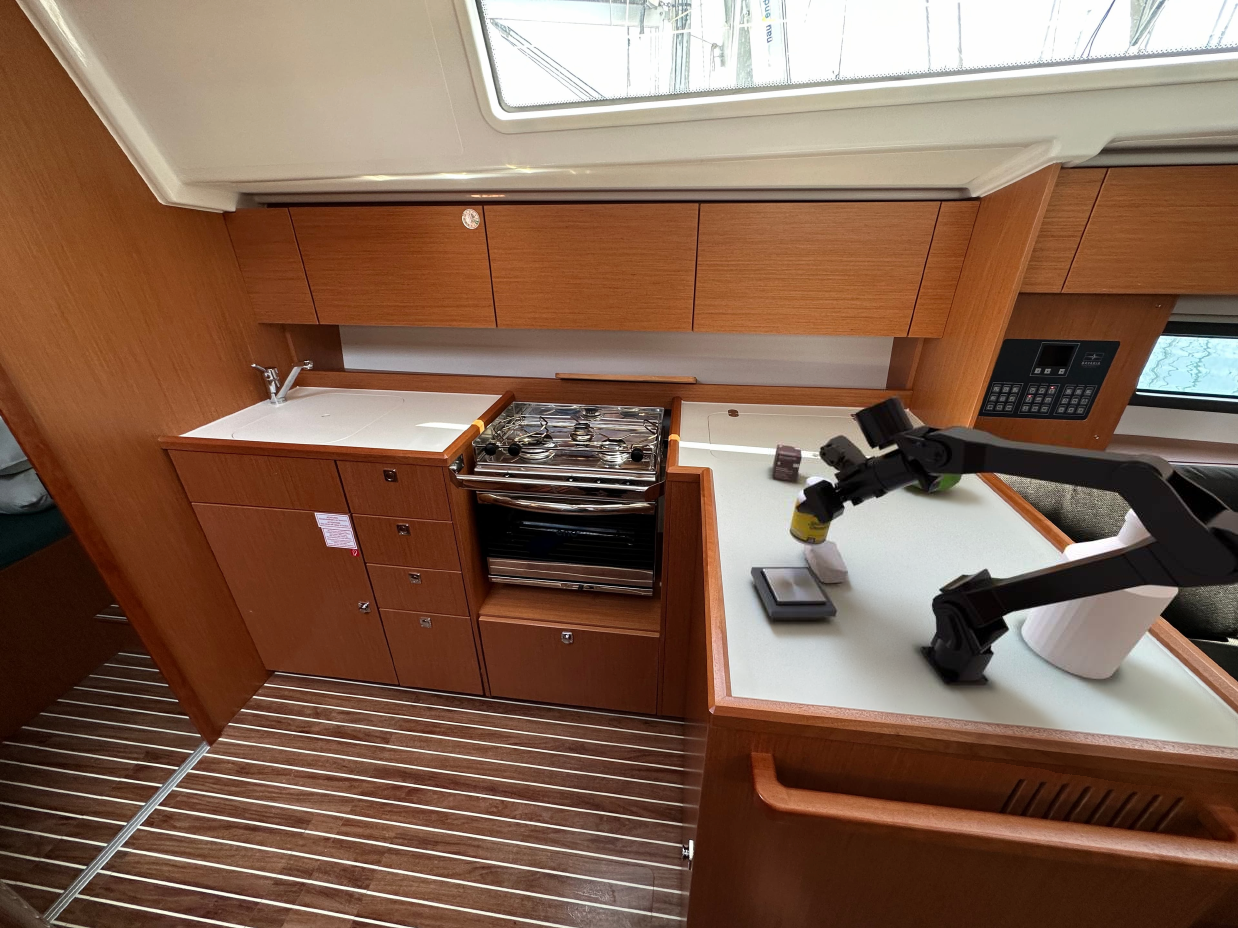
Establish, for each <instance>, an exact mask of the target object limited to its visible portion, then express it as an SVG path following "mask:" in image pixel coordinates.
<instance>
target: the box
mask: <svg viewBox="0 0 1238 928" xmlns="http://www.w3.org/2000/svg"><path fill="white" fill-rule="evenodd" d="M802 458H803V456H802V448H801V447H796V446H791V445H786V444H785V445H784V444H776V449H775V453H774V458H773V463H772V468H771V469H772V470H771V475H772V476H771V477H772V479H775V480H781V481H788V482H793V483H796V482H797V479H798V475H799V471H800V467H801V464H802V463H801V462H802Z"/></svg>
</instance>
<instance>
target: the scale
mask: <svg viewBox="0 0 1238 928" xmlns="http://www.w3.org/2000/svg"><path fill="white" fill-rule="evenodd" d="M763 569H807V570H808V572H809V573H810V575H811V577H812V578H813V580H814V582H815V583H816V585H817V587H818V588H819V590H820V591H821V593H822V595H823V596H824V598H825V600H826V602H825V605H818V606H776V603H775V601H774V599H773V597H772V595H771V593H770V591H769V589H768V587H767V585H766V582H765V580H764V578H763V576H762V571H763ZM750 575H751V577H752V579H753V582H754V584H755V586H756V588H757V591H758V593H759V595H760V598H761V600H762V602H763V604H764V606H765V608H766V611H767V613H768V616H769V617H770V619H771V621H824V620H826V618H835V617H836V616H837V613H838V610H837V608H836V606H835V604H834V603H833V601H832V600H831V598H830V596H829V595H828V594H827V591H826V590H825V588H824V587H823V586H822V584H821V582H820V580H819V578H818V576H817V575H816V574H815V572H814V571H813V569H812V568H811V566H752V567H751V569H750Z"/></svg>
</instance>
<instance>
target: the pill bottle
mask: <svg viewBox="0 0 1238 928" xmlns="http://www.w3.org/2000/svg"><path fill="white" fill-rule="evenodd" d="M822 480H826V481H829V482H831V483H832V485H833V487H834V488H835V483H834V482H833V481H832V480H831V479H828V478H826V477H823V476H822V477H821V476H811V477H808V478H807V479H806V481H805V486H804V487H805V488H807V487H809V486H811V485H813V484H815V483H817V482H819V481H822ZM805 488H803V489H802V490H800V491H799V492H798V494H797V497H796V501H795V505H794V509H793V513H792V518H791V521H790V527H789V535H790V537H791V538H792V539H793V540H795V541H796V542H798V543H800V544H802V545H804V546H805V545H810V546H817V545H821V544H823V543H824V542H825V540H827V537H828V533H829V530H830V527H831V523H832V521H830V522H827V523H824V524H821V523H820V522H818V520H817V518H816V516H815V515H810V514H804V513H799V512H798V511H797V510H796V506H797V505H799V504H800V503H801V502H803V501H804V500H805V499H806V497H805V496H804V494H803V490H804V489H805Z"/></svg>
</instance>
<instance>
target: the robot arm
mask: <svg viewBox="0 0 1238 928" xmlns="http://www.w3.org/2000/svg"><path fill="white" fill-rule="evenodd" d="M853 418H854V420H855V422H856V423H857V425H858V427H859V429H860V431H861V433H862V435H863V437H864V439H865V441H866V443H867V445H868V447H869V448H871V450H873V449H876V448H878V450H879V451H884V450H885V449H888V448H891V447H894V446H897V448H895V449H892V450H890V451H888V452H886V453H883V454H880V455H877V456H875V455H872V456H870V457H867V456H866V455H865V454H864V453H863V451H862V450H861V449H860V447H858V446H857V445H856V444H854V443H853V442H852V441H851V440H850V439H849V438H848V437H847V436H845V435H842V434H840V435H836V436H834V437H832V438H830V439H829V440H828V441H827V442H826V444H824V445H822V446H820V448H819V452H818V455H819V458H820V459H821V460H822V461H823V462H824V464H826V465H827V466H828V467H830V468H831V467H832V468H833V469H834V470H835V471H837V472H836V473H833V475H834V477H835V479H836V480H837V481H836V482H835V483H834V484H835V488H834V487H833V485H832V483H831V482H829V481H826V480H822V481H819V482H817V483H815V484H813V485H811V486H809V487H807V488H803V489H804V490H803V489H802V490H803V494H804V496H805V497H806V499H805V500H804V501H803V502H801V503H800V504H799V505H797V506H796V510H797V511H798V512H799V513H804V514H810V515H815V516H816V518H817V520H818V522H820V523H821V524H824V523H827V522H830V521H831V522H833V521H835V520H836V519H837V518H839V517H841V516H843V515H844V513H845V509H846V506H845V505H844V504H846V503H847V502H850V503H851V504H852V506H853V507H856V506H859V505H860V504H863V503H865V501H869V500H871V499H874V498H875V499H879V498H882V497H884V496H886V495H887V494H889V493H892V492H894V491H897V490H899V489H902V488H906V487H908V486H912V485H911V484H914V483H917V482H919V484H920V486H921V488H922V491H923V493H925V494H929V493H930V492H934V491H933V490H935V489H937V488H939V485H940V481H941V479H942V477H943V476H944V475H943V474H958V475H962V476H963V475H975V474H976V475H977V474H999V475H1004V476H1010V477H1017V478H1021V479H1022V478H1023V479H1029V480H1036V481H1042V482H1047V483H1052V484H1060V485H1065V486H1071V487H1078V488H1084V489H1091V490H1098V491H1104V492H1110V493H1115V494H1117V495H1119V496H1120V498H1121V499H1123V501H1125V502H1126V503H1127V504H1128V506H1129V507H1130V509H1131V508H1132V510H1133V511H1134V513H1135V514H1136V516H1137V517H1138V518H1139V520H1140V521H1141V523H1142V524H1143V526H1144V527H1145V529H1146V530H1147V531H1148V532H1149V534H1150V536H1148V537H1146V538H1144V539H1142V540H1140V541H1138V542H1136V543H1134V544H1132V545H1130V546H1127V547H1123V548H1119V549H1116V550H1112V551H1108V552H1104V553H1100V554H1097V555H1093V556H1089V557H1085V558H1081V559H1078V560H1074V561H1070V562H1066V563H1062V564H1059V565H1057V564H1055V565H1052V566H1048V567H1044V568H1040V569H1036V570H1032V571H1029V572H1025V573H1021V574H1018V575H1014V576H1013V575H1012V576H1009V577H1004V578H1002V577H1001V578H1000V577H992V576H991V573H990V571H989V569H988V568H984V569H982V570H980V571H978V572H976V573H973V574H961V575H960V576H957V577H956V578H955V579H953V580H952V581H950V582H948V583H947V584H945V585H944V586H941V588H939V589H938V591H939V592H940V593H938V594H936V595H935V596H934V597H933V598H932V602H931V609H932V613H933V614H934V617H935V633H934V635H933V637H932V639H931V641H930V646H929V645H928V646H926V645H924V646H923V645H922V646H921V647H920V649H919V650H920V652H921V653H922V654H923V656H924V657H925V659H926V660H927V661H928V662H929V664H930V665H931V667H932V668H933V669H934V671H935V672H936V673H937V675H939V677H940V678H941V679H942V681H943V682H944V683H945V684H947V685H949V686H951V685H953V686H954V685H987V684H988V683H989V682H990V681H989V679H988V677H987V676H986V675H985V674H984V672H985V670H986V669H987V667H988V665H989V664H990V661H991V660H992V658H993V657H994V655H995V652H994V651H993V650H992V646H993V644H995V642H997V641H998V640H999V639H1000V638H1002V637H1003V636H1004V635H1006V634H1007V633H1008V632H1009V631H1010V628H1009V626H1008V624H1007V622H1006V620H1005V616H1007V615H1009V614H1012V613H1015V612H1021V611H1026V610H1029V609H1030V610H1031V609H1033V608H1035V607H1040V606H1045V605H1050V604H1055V603H1060V602H1065V601H1070V600H1075V599H1080V598H1084V597H1089V596H1094V595H1099V594H1104V593H1109V592H1114V591H1119V590H1124V589H1129V588H1134V587H1139V586H1146V585H1153V586H1165V587H1177V588H1178V589H1181V588H1182V589H1187V588H1188V589H1189V588H1206V587H1223V586H1225V587H1226V586H1233V585H1236V584H1238V512H1237V511H1233V510H1232V509H1231V508H1230V507H1229V506H1227V504H1225V503H1224V502H1223V501H1222V500H1221V499H1220V498H1219V497H1218V496H1216V495H1215V494H1214V493H1212V492H1210V491H1209V490H1207V489H1206V488H1204V487H1202V486H1201V485H1199V484H1198V483H1196V482H1195V481H1193V480H1192V479H1190V478H1189V477H1187V476H1185V475H1183V474H1182V473H1181V472H1180V471H1179V470H1178V469H1177V468H1175V467H1174V466H1173V465H1172V464H1171V463H1170V462H1169V461H1168V460H1167V459H1165V458H1163V457H1161V456H1160V455H1155V454H1151V453H1135V454H1133V453H1122V452H1114V451H1106V450H1097V449H1087V448H1077V447H1068V446H1061V445H1060V446H1059V445H1051V444H1041V443H1033V442H1023V441H1015V440H1009V439H1005V438H1001V437H998V436H996V435H994V434H992V433H991V432H988V431H984V430H979V429H975V428H972V427H968V426H964V425H952V426H949V427H945V428H942V427H937V426H932V425H925V424H923V425H919V426H917V427H915V426H914V424H913V423H912V421H911V419H910V417H909V416H908V414H907V411H906V409H905V408H904V404H903V402H902V399H901V398H900V396H892V397H889V398H887V399H885V400H882V401H881V402H878V403H875V404H874V405H871V406H867V407H864V408H862V409H860V410H858V411H857V412H855V413H854V414H853ZM921 488H920V489H921Z"/></svg>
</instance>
